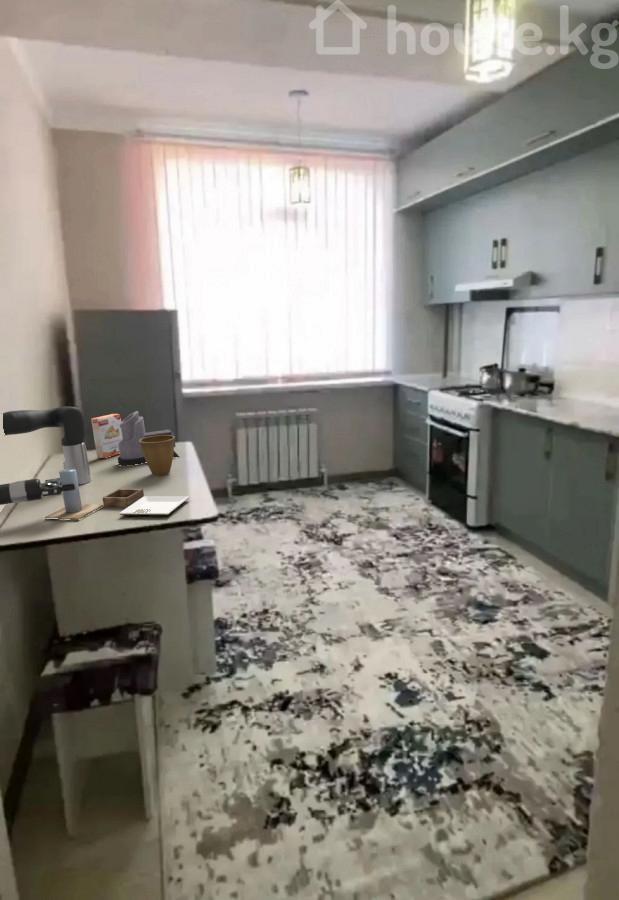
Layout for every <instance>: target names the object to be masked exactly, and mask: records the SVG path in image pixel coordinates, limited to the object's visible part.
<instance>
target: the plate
mask: <svg viewBox="0 0 619 900" xmlns="http://www.w3.org/2000/svg"><path fill="white" fill-rule="evenodd" d="M188 499H190V496H189V495H144V497H142V498H141V499H139V500H138V501H136V502H135V503H133V504H132V505H130V506H129V507H125V509H122V511H120V512H119V513H118V514H119V515H120V516H129V515H149V516H148V517H150V516H151V517H152V516H153V517H157V516H158V517H161V516H162V517H165V516H168V515H170V514H171V513H172V512H174V511H175V510H176V509H177V508H178V507H180V506H181V505H183V504H184V502H186V501H187V500H188ZM138 509H140V510H141V509H143V510H144V509H145V510H146V509H148V510H149V509H150V510H151V511H150V510H149V511H150V512H149V511H148V512H147V513H145V512H146V511H147V510H146V511H145V510H144V511H145V512H144V513H137V512H136V513H133V512H135V511H136V510H138Z"/></svg>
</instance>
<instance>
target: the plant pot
mask: <svg viewBox="0 0 619 900" xmlns="http://www.w3.org/2000/svg"><path fill="white" fill-rule="evenodd" d="M174 438H175V435H174V436H171V435H158V436H151V437H146V438H142V439H140V440H139V441H140V445H141V449H142V452H143V455H144V457H145V460H146V462H147V463H146V464H147V467H148V468H149V470H150V473H151V474H152V476H154V475H162V476H165V474H166V475H169V474H170V472H171V468H172V464H173V460H174V458H173V454H174V451H175V447H174ZM168 473H169V474H168Z"/></svg>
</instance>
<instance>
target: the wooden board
mask: <svg viewBox="0 0 619 900" xmlns="http://www.w3.org/2000/svg"><path fill="white" fill-rule="evenodd" d="M81 504H82V503H81ZM101 507H103V508H104V504H91V503H90V504H89V503H88V504H86V503H83V504H82V510H81V511H79V512H76V513H66V511H65V506H63V507H62V508H60V509H58V510H56V511H54V512H53V513H51V514H48V515H46V516H45V517H44V519H45V518H58V519H70V520H79V519H81V518H83V517H85V516H86V515H88V514H90V513H92V512H93V511H95V510H97V509H99V508H101ZM101 509H102V508H101ZM92 514H93V513H92ZM85 518H86V517H85ZM83 519H84V518H83Z"/></svg>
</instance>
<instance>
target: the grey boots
mask: <svg viewBox="0 0 619 900" xmlns="http://www.w3.org/2000/svg"><path fill="white" fill-rule="evenodd" d="M120 428H121V432H122V438H123V439H122V440H121V441H120V442H119V444H118V446H119V452H120V455H119V456H118V457H117V462H118V463H119V464H118V465H121V466H126V467H128V466H127V465H135V464H141V463H145V462H146V460H145V457H144V455H143V452H142V449H141V445H140V441H139V440H140V439H142V438H146V437H151V436H158V435H171V436H174V448H176V439H175V434H174V432H172V430H171V429H162V430H155V431H149V432H146V427H145V421H144V417H143V416H140V415H139V411H138V410H136V411H134V412H132V413H130V414H129V415H128V416H126V417H125V418H124V419H122V420H121V423H120ZM178 455H179V454H178V453H177V452H176V451H175V450H174V454H173V457H178V458H180V456H178ZM145 464H146V463H145ZM141 465H142V464H141ZM135 466H136V465H135Z"/></svg>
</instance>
